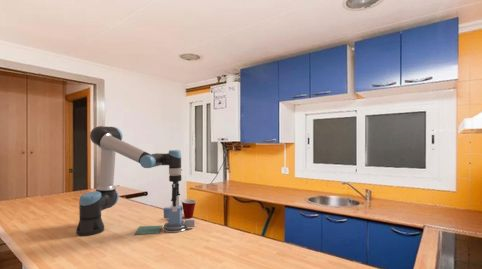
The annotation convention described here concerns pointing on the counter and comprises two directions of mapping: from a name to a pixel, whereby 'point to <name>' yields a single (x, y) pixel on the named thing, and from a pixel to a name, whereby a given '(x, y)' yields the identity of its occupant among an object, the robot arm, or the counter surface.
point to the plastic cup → (188, 207)
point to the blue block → (173, 215)
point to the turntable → (179, 227)
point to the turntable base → (174, 231)
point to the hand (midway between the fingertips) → (175, 208)
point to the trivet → (148, 230)
